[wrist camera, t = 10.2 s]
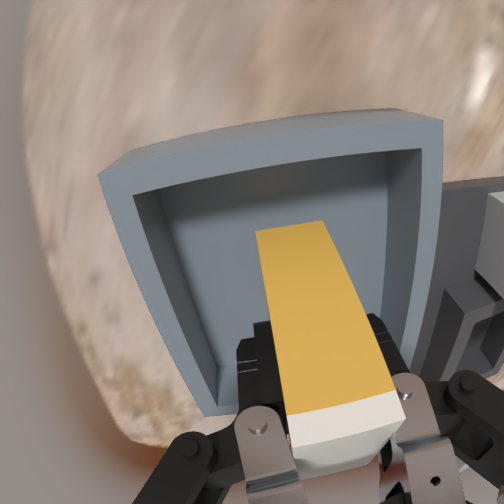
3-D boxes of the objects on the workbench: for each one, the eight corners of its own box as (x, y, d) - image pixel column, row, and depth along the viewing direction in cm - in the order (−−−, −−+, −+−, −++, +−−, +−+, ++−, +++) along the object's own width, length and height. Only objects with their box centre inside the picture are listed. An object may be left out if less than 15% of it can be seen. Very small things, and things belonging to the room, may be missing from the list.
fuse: (322, 220, 12) (406, 418, 6) (321, 306, 15) (367, 464, 9) (255, 230, 12) (291, 447, 6) (269, 316, 15) (296, 480, 9)
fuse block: (542, 173, 14) (634, 233, 6) (476, 378, 25) (511, 442, 17) (414, 186, 14) (540, 289, 6) (377, 416, 25) (404, 496, 17)
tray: (395, 108, 12) (442, 120, 9) (385, 333, 19) (407, 376, 16) (129, 150, 13) (97, 174, 9) (206, 368, 19) (204, 416, 16)
